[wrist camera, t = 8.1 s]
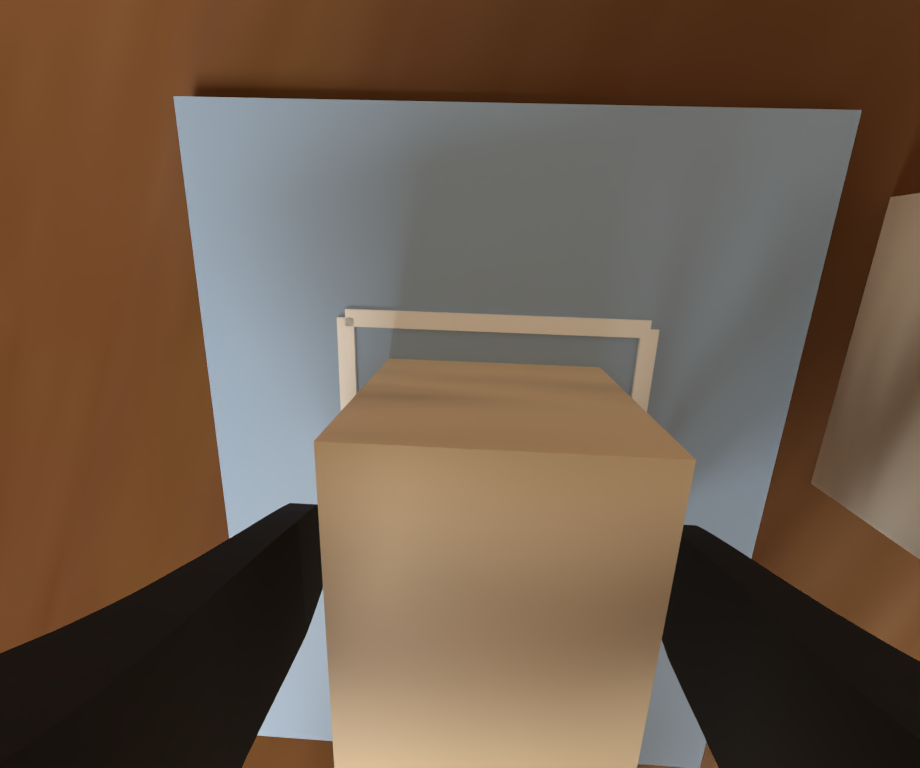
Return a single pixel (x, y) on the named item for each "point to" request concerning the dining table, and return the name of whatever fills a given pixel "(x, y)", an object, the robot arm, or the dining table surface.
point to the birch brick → (881, 391)
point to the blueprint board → (507, 287)
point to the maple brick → (495, 566)
